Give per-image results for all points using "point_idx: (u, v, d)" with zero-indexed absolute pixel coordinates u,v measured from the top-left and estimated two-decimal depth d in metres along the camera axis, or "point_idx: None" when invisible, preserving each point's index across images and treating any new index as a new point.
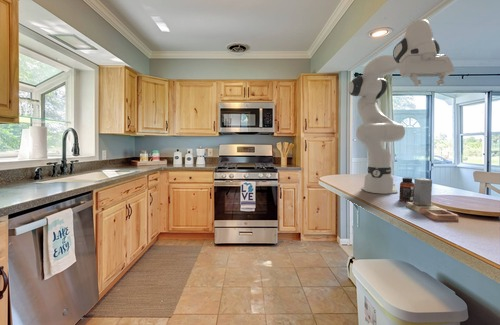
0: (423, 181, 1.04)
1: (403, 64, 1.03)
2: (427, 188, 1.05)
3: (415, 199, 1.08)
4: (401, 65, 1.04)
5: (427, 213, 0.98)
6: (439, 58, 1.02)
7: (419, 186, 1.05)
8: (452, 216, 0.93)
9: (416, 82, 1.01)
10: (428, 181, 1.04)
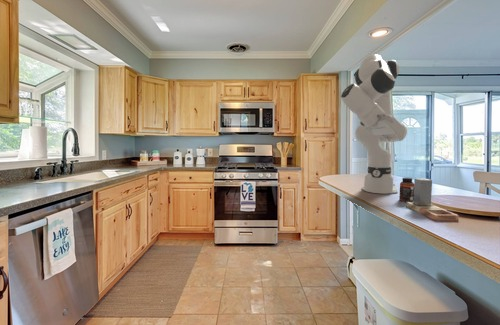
0: (423, 181, 1.04)
1: None
2: (427, 188, 1.05)
3: (415, 199, 1.08)
4: None
5: (427, 213, 0.98)
6: (380, 123, 1.01)
7: (419, 186, 1.05)
8: (452, 216, 0.93)
9: None
10: (428, 181, 1.04)
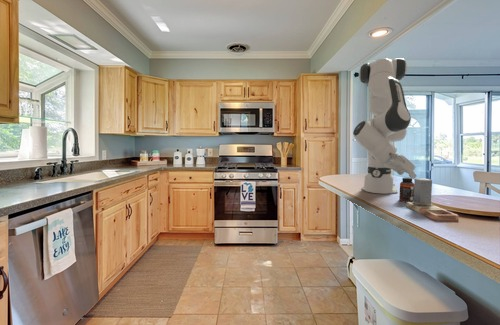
0: (423, 181, 1.04)
1: None
2: (427, 188, 1.05)
3: (415, 199, 1.08)
4: None
5: (427, 213, 0.98)
6: (392, 161, 1.02)
7: (419, 186, 1.05)
8: (452, 216, 0.93)
9: None
10: (428, 181, 1.04)
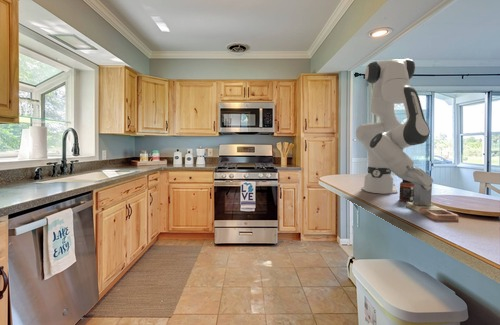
0: None
1: None
2: None
3: (415, 199, 1.08)
4: None
5: (427, 213, 0.98)
6: (409, 174, 1.02)
7: (419, 186, 1.05)
8: (452, 216, 0.93)
9: None
10: None
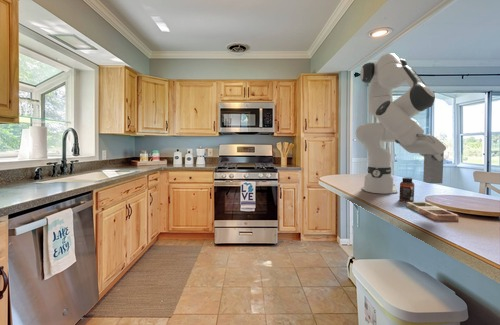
0: None
1: None
2: None
3: (425, 172, 1.01)
4: None
5: (427, 213, 0.98)
6: (419, 143, 0.95)
7: (430, 157, 0.98)
8: (452, 216, 0.93)
9: None
10: None
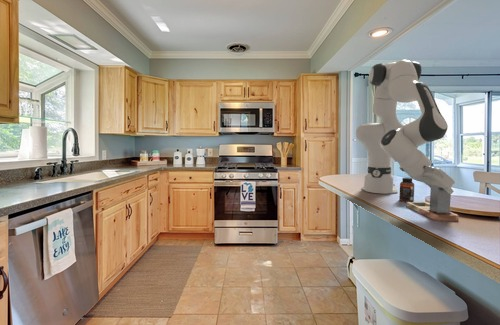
0: None
1: None
2: (446, 194, 0.94)
3: (432, 206, 0.98)
4: None
5: (427, 213, 0.98)
6: (426, 175, 0.91)
7: (436, 192, 0.95)
8: (452, 216, 0.93)
9: None
10: None
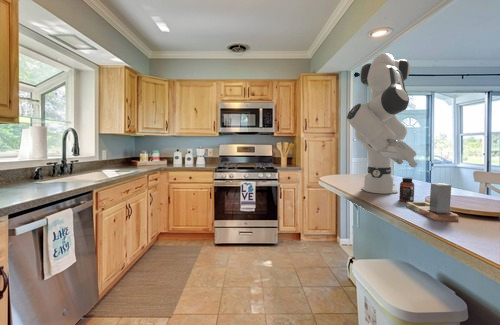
0: (441, 186, 0.94)
1: None
2: (446, 194, 0.94)
3: (432, 206, 0.98)
4: None
5: (427, 213, 0.98)
6: (390, 148, 0.91)
7: (436, 192, 0.95)
8: (452, 216, 0.93)
9: None
10: (447, 186, 0.93)
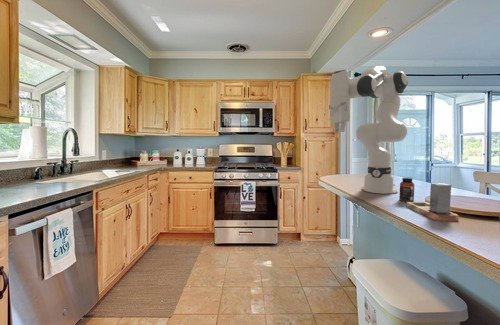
0: (441, 186, 0.94)
1: None
2: (446, 194, 0.94)
3: (431, 206, 0.98)
4: None
5: (427, 213, 0.98)
6: (338, 109, 1.19)
7: (436, 192, 0.95)
8: (452, 216, 0.93)
9: None
10: (447, 186, 0.93)
